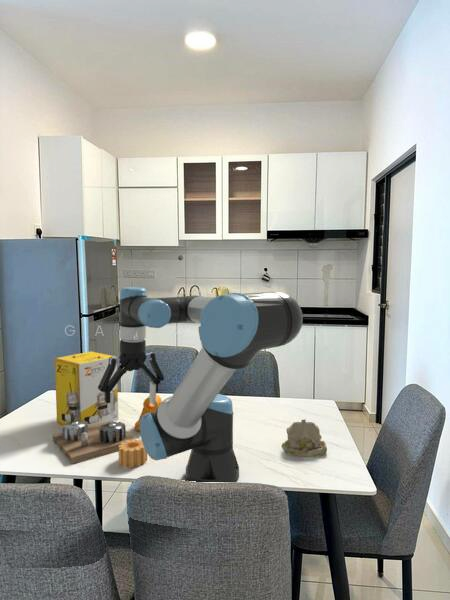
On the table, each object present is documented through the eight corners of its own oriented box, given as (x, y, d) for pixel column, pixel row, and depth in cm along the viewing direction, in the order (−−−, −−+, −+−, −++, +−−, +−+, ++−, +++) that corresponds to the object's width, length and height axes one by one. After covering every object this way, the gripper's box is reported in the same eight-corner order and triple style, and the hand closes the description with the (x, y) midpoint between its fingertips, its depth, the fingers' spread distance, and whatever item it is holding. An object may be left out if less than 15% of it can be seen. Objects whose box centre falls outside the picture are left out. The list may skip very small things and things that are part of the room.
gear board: (136, 445, 133) (136, 427, 133) (71, 464, 120) (71, 444, 120) (112, 425, 150) (111, 410, 149) (53, 440, 137) (52, 423, 136)
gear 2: (129, 439, 133) (129, 425, 133) (105, 445, 128) (104, 431, 128) (119, 430, 140) (119, 417, 139) (96, 437, 135) (95, 423, 134)
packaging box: (81, 433, 143) (79, 364, 141) (56, 422, 153) (54, 358, 151) (118, 419, 156) (116, 356, 154) (93, 410, 166) (91, 351, 164)
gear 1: (92, 437, 135) (91, 416, 134) (66, 443, 130) (65, 422, 129) (83, 429, 142) (83, 409, 141) (59, 435, 136) (58, 415, 136)
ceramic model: (282, 456, 125) (282, 425, 124) (281, 441, 136) (281, 412, 135) (328, 459, 123) (328, 427, 122) (324, 443, 134) (324, 414, 133)
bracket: (134, 431, 144) (133, 399, 143) (141, 424, 151) (140, 393, 150) (162, 433, 143) (162, 400, 142) (168, 425, 150) (168, 394, 149)
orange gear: (152, 461, 121) (151, 445, 121) (126, 470, 116) (125, 453, 116) (139, 452, 128) (139, 436, 128) (114, 459, 123) (114, 443, 123)
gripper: (164, 332, 129) (162, 396, 132) (86, 341, 114) (86, 412, 117) (175, 337, 123) (174, 403, 126) (95, 347, 108) (95, 421, 111)
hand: (132, 408), depth 121 cm, fingers open, 13 cm apart
